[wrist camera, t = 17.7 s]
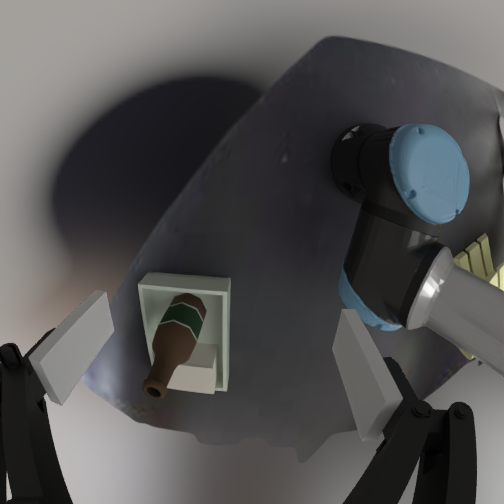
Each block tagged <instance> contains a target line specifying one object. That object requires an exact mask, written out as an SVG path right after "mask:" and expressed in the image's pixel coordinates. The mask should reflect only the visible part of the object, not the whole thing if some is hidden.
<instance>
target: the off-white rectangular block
mask: <svg viewBox="0 0 504 504" xmlns="http://www.w3.org/2000/svg"><path fill="white" fill-rule="evenodd" d="M217 374H218V345H217V344H206V343H196V345H195V348H194V350H193V352H192V354H191V356H190V358H189V360H188V361H186V362H185V363H183V364H181V365H178V366H177V368H176V369H175V370H174V373H173V375H172V377H171V379H170V381H169V383H168V386H167V388H171V389H177V390H184V391H191V392H199V393H208V394H214V391H215V385H216V380H217Z"/></svg>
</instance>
